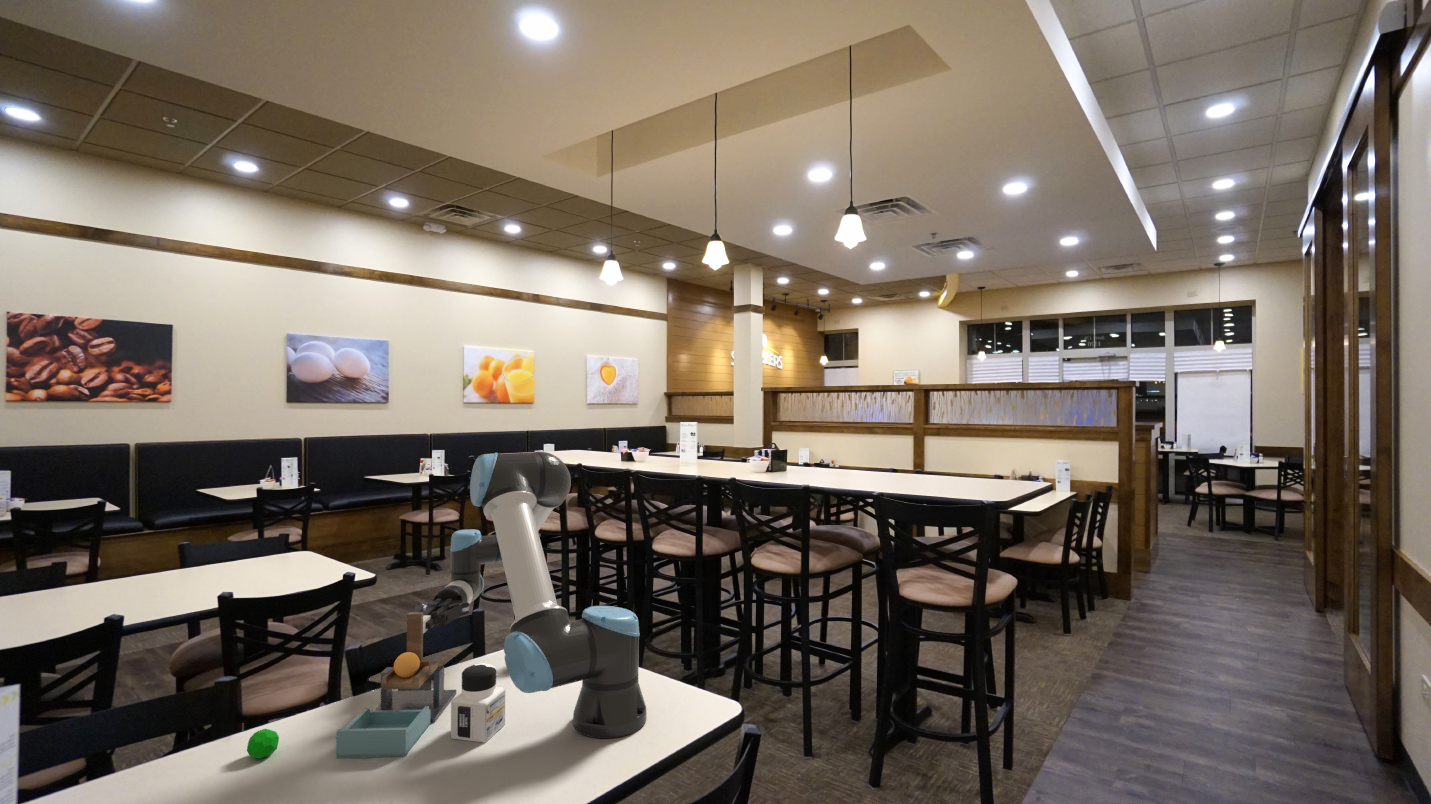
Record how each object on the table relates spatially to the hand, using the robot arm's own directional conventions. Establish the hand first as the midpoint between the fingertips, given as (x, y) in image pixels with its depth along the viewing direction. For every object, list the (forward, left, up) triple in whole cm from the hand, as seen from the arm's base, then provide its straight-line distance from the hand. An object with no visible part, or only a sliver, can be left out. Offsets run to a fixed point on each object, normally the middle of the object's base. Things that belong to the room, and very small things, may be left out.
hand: (416, 630), depth 144 cm
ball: (-5, +2, -5) cm, 7 cm away
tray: (-14, +6, -16) cm, 22 cm away
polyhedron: (-10, +27, -17) cm, 33 cm away
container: (-19, -10, -17) cm, 27 cm away
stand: (-2, +1, -16) cm, 16 cm away
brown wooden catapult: (-2, +1, -13) cm, 13 cm away
